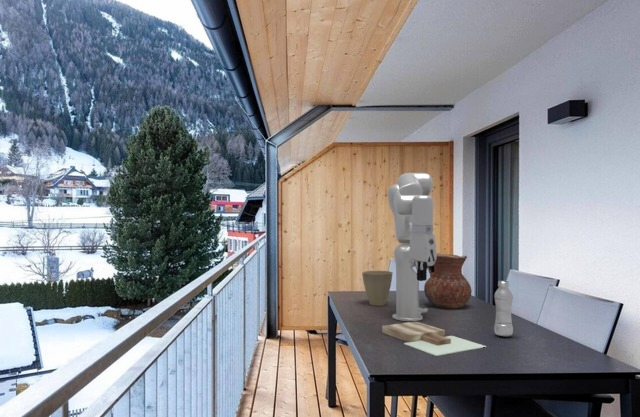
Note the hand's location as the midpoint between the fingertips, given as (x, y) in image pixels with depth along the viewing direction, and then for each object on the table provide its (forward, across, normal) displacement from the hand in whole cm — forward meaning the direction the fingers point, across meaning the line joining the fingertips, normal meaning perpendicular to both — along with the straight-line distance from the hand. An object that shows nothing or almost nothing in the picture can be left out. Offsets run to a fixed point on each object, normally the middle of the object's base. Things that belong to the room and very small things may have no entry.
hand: (421, 280), depth 174 cm
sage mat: (+20, -14, +2) cm, 24 cm away
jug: (+23, +38, -50) cm, 67 cm away
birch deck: (+20, +3, +2) cm, 21 cm away
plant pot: (+23, +57, -22) cm, 66 cm away
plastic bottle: (+21, -15, -26) cm, 36 cm away
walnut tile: (+19, -9, +2) cm, 21 cm away
